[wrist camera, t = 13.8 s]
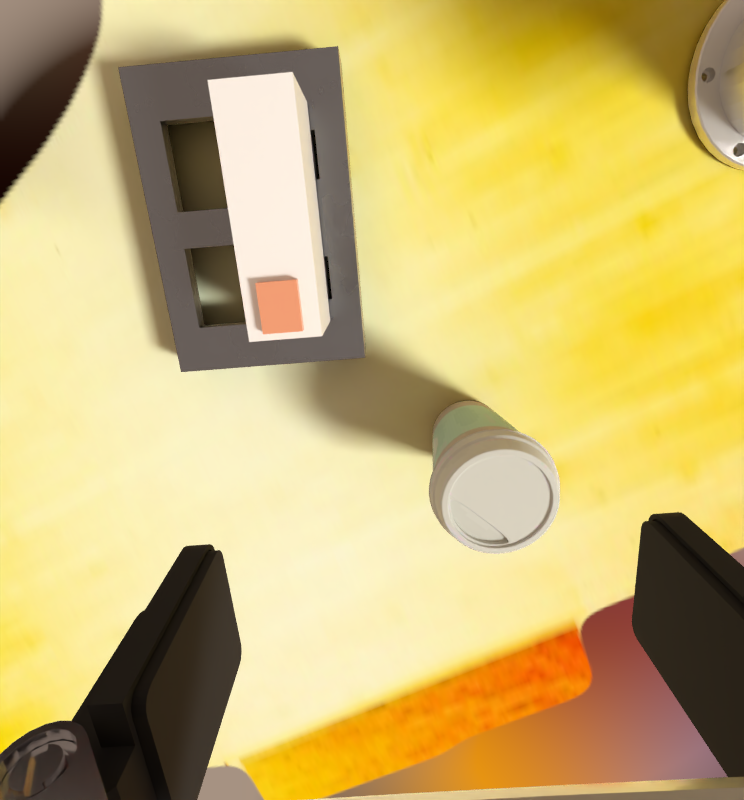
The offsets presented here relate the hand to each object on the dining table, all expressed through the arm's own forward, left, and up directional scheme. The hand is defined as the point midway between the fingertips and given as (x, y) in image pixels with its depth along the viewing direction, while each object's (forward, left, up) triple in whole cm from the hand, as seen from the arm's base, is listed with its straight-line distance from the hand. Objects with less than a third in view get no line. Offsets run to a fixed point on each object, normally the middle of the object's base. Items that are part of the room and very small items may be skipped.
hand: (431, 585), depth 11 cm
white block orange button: (+6, -9, -30) cm, 32 cm away
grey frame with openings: (+9, -9, -30) cm, 33 cm away
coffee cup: (-6, +9, -31) cm, 32 cm away
